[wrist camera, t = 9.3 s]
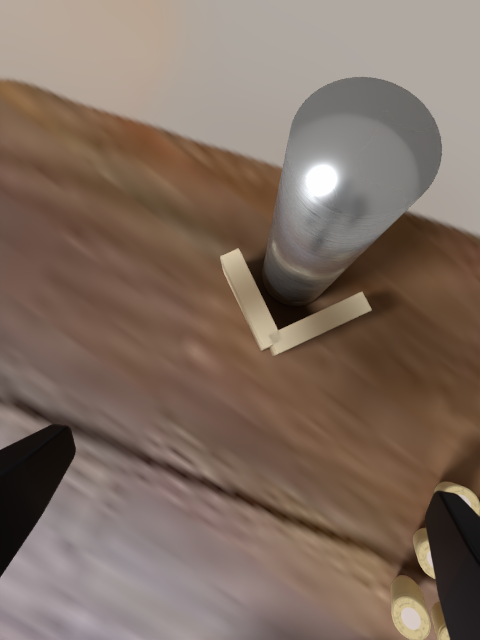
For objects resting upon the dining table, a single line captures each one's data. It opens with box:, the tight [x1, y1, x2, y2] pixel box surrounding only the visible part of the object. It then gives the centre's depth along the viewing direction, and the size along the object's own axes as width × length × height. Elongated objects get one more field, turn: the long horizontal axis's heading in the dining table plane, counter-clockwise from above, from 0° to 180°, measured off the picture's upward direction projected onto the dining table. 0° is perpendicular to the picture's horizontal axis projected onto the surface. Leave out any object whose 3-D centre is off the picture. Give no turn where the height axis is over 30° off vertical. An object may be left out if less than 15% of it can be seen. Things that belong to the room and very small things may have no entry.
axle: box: [262, 77, 442, 306], centre depth 16 cm, size 4×4×13 cm
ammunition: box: [391, 482, 480, 640], centre depth 18 cm, size 5×7×8 cm
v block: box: [220, 248, 372, 356], centre depth 20 cm, size 5×9×3 cm, turn 70°
